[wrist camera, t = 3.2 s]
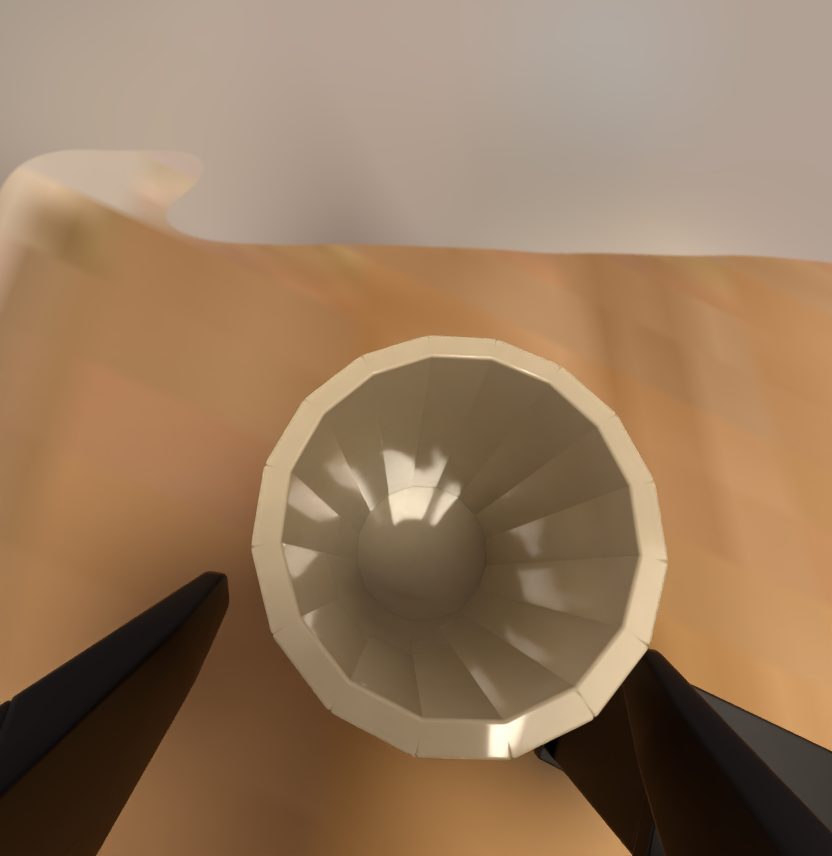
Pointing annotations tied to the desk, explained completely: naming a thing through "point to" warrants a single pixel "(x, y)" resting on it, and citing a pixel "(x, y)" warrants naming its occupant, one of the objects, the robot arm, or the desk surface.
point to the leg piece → (622, 782)
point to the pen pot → (459, 548)
